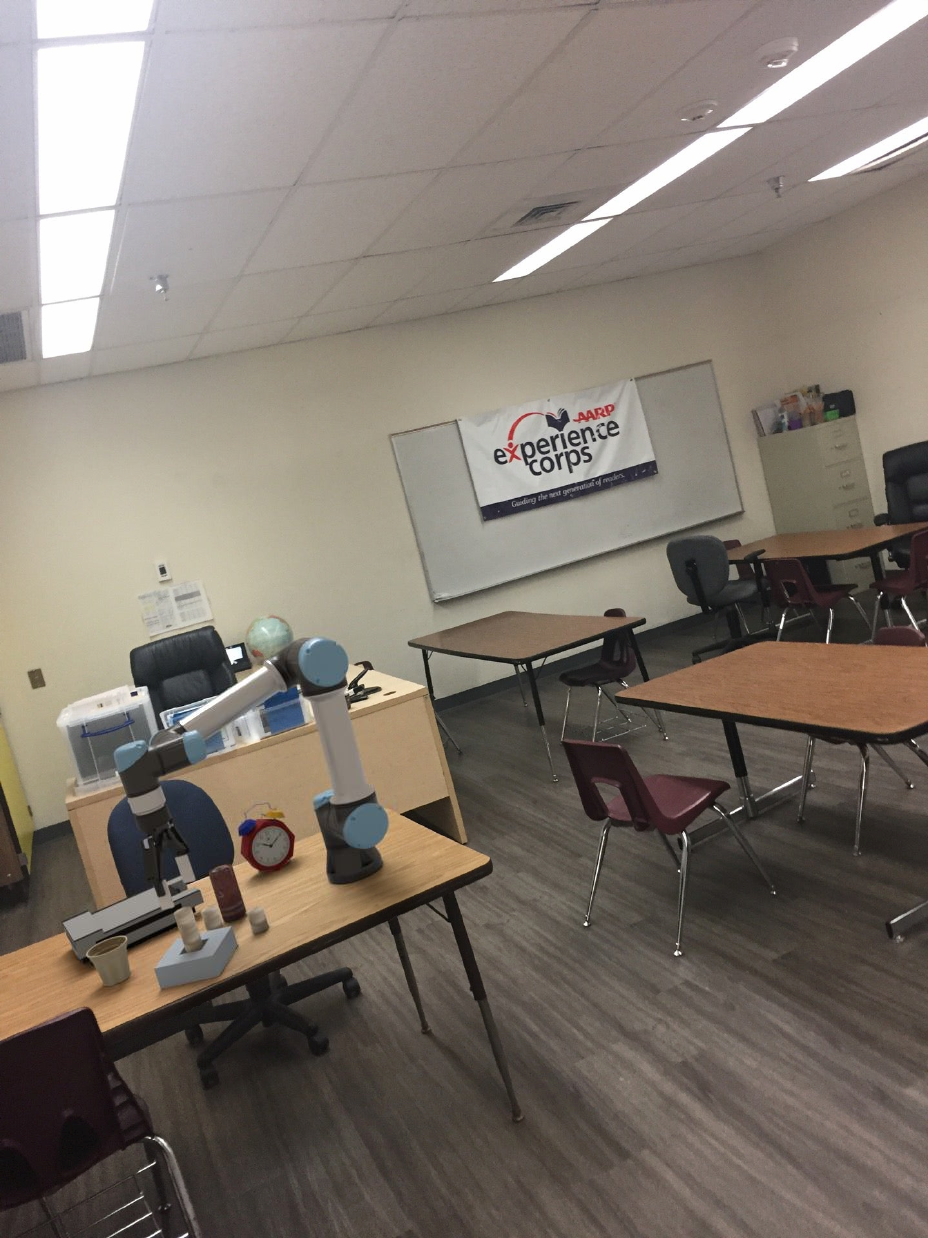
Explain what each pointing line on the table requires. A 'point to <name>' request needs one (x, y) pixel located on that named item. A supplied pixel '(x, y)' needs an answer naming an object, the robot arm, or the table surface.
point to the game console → (130, 918)
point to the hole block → (196, 959)
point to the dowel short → (257, 919)
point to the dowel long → (188, 929)
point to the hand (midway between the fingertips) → (179, 894)
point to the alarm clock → (266, 841)
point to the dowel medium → (212, 918)
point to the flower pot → (111, 960)
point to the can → (227, 892)
